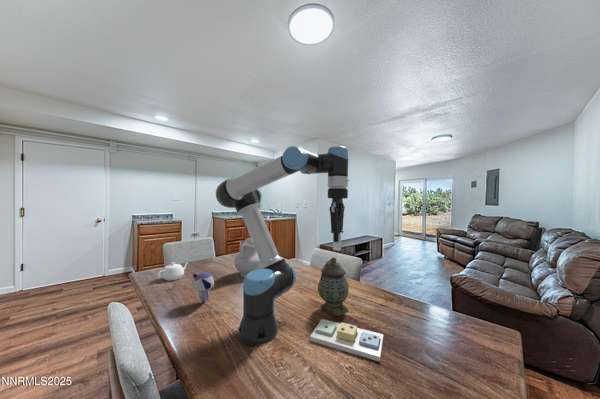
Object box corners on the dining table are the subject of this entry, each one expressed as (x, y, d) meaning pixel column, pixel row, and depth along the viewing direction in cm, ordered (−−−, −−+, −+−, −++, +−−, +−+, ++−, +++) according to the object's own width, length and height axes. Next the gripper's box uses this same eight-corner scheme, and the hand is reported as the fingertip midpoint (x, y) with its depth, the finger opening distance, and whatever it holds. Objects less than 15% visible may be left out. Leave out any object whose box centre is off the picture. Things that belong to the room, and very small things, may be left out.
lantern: (346, 321, 96) (347, 263, 96) (314, 315, 101) (315, 259, 100) (350, 306, 109) (351, 255, 109) (322, 301, 114) (323, 252, 114)
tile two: (336, 337, 81) (337, 330, 81) (341, 328, 86) (341, 321, 86) (353, 342, 78) (353, 334, 78) (356, 332, 84) (357, 325, 83)
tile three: (359, 348, 77) (359, 340, 77) (362, 338, 83) (362, 331, 83) (377, 353, 75) (377, 345, 75) (379, 343, 80) (379, 335, 80)
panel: (309, 343, 81) (310, 336, 81) (321, 324, 93) (321, 318, 93) (379, 364, 71) (380, 356, 71) (383, 341, 83) (383, 334, 83)
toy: (218, 303, 111) (218, 272, 111) (198, 310, 104) (198, 277, 103) (208, 296, 118) (208, 267, 118) (189, 302, 111) (189, 272, 111)
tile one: (316, 335, 84) (316, 328, 84) (321, 327, 89) (321, 320, 89) (331, 340, 81) (331, 332, 81) (335, 331, 87) (336, 324, 87)
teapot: (182, 271, 155) (182, 257, 155) (194, 275, 149) (194, 260, 149) (152, 281, 138) (152, 264, 138) (163, 285, 132) (163, 268, 132)
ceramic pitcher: (258, 283, 140) (262, 243, 140) (227, 280, 140) (231, 240, 140) (264, 271, 162) (267, 237, 162) (237, 269, 162) (240, 234, 162)
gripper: (343, 187, 78) (342, 255, 78) (351, 188, 89) (350, 247, 90) (322, 187, 81) (321, 252, 81) (333, 188, 93) (332, 245, 93)
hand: (336, 249), depth 85 cm, fingers closed
